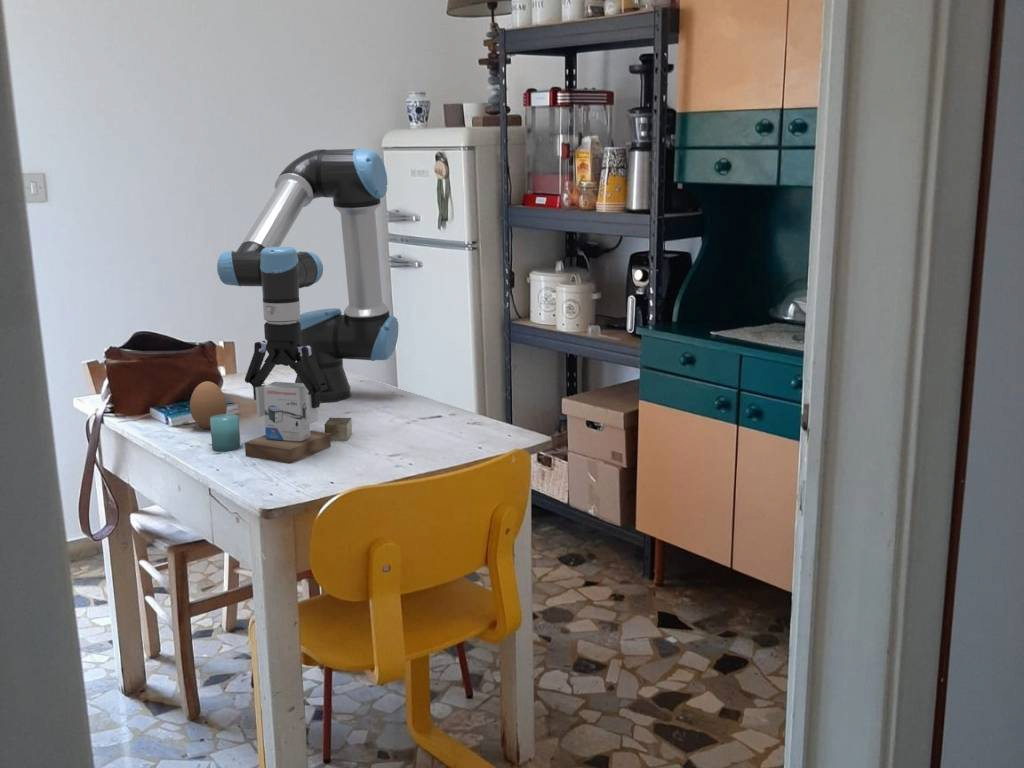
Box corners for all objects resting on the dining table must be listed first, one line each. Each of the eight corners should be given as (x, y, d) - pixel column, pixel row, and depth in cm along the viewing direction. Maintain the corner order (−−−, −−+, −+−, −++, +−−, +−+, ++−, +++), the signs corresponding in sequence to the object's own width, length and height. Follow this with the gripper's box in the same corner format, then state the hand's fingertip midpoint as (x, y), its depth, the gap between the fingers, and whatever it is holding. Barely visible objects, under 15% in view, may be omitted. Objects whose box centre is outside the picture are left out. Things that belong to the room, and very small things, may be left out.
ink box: (264, 439, 211) (261, 386, 209) (275, 433, 216) (272, 381, 213) (302, 442, 209) (299, 388, 207) (311, 435, 214) (309, 383, 212)
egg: (202, 422, 237) (199, 377, 234) (234, 424, 235) (231, 378, 233) (184, 431, 229) (181, 384, 226) (217, 433, 227) (214, 386, 225)
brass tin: (330, 434, 227) (329, 417, 226) (352, 434, 227) (351, 417, 226) (325, 441, 221) (324, 424, 221) (347, 441, 221) (346, 424, 220)
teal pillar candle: (225, 442, 220) (223, 412, 218) (246, 446, 217) (244, 415, 216) (206, 449, 215) (204, 418, 213) (227, 453, 212) (225, 422, 210)
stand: (287, 439, 222) (287, 427, 221) (331, 446, 217) (330, 433, 216) (245, 456, 210) (244, 442, 209) (290, 463, 205) (289, 449, 204)
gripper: (224, 319, 209) (230, 416, 214) (319, 328, 198) (323, 429, 203) (248, 314, 216) (253, 408, 220) (341, 322, 205) (345, 421, 210)
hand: (287, 419), depth 212 cm, fingers open, 13 cm apart
